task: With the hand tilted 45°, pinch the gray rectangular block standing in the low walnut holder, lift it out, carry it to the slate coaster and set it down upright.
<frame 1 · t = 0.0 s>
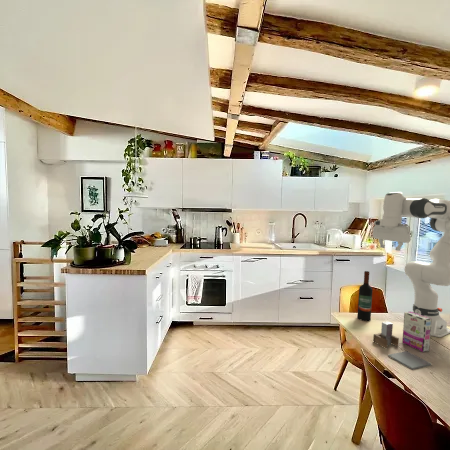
hand: (389, 249, 158), 48 cm above the table, tool pointing down, fingers open, 8 cm apart
holder: (385, 343, 154), on the table
wine bottle: (363, 319, 188), on the table
gray rectangular block: (386, 333, 154), in the holder
candy bar box: (415, 347, 152), on the table
coaster: (409, 360, 138), on the table
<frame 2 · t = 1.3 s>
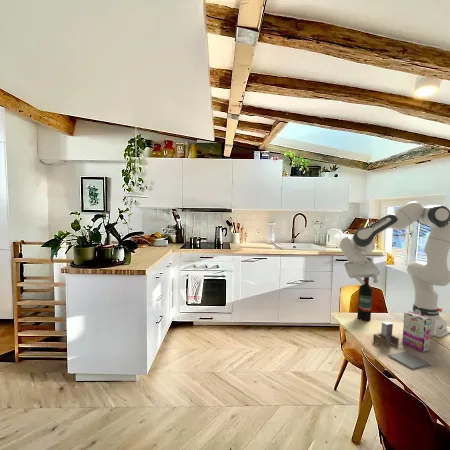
hand: (370, 283, 164), 28 cm above the table, tool tilted 45°, fingers open, 8 cm apart
nothing on the table moved.
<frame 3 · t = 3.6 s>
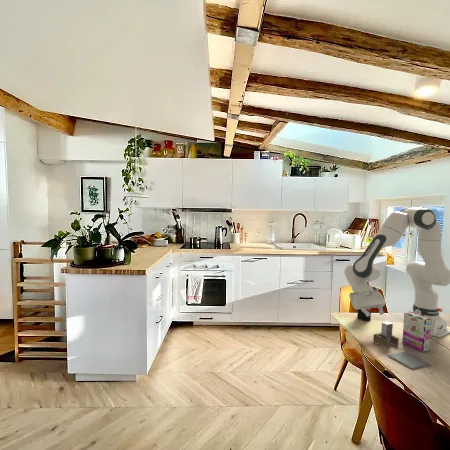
hand: (375, 315, 160), 12 cm above the table, tool tilted 45°, fingers open, 8 cm apart
nothing on the table moved.
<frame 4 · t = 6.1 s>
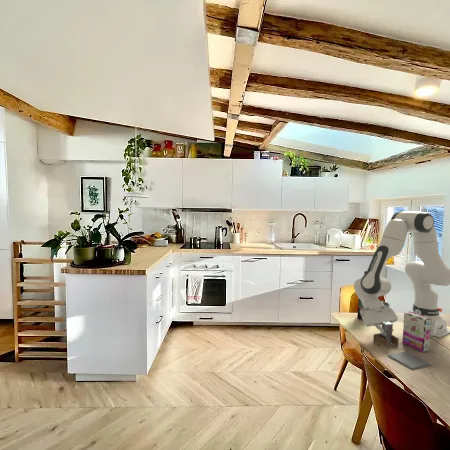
hand: (387, 332, 153), 6 cm above the table, tool tilted 45°, fingers closed on gray rectangular block, 4 cm apart
gray rectangular block: (386, 333, 154), in the holder, touching gripper
everything else where it was.
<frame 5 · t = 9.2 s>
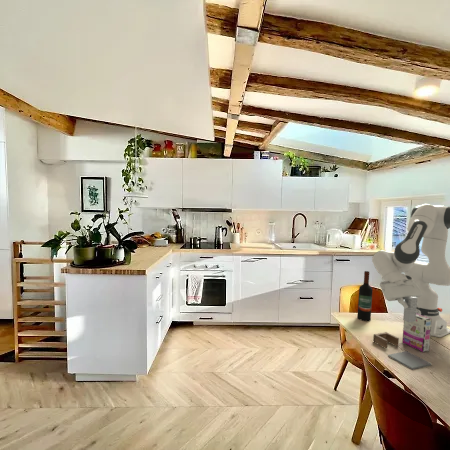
hand: (411, 307, 137), 25 cm above the table, tool tilted 45°, fingers closed on gray rectangular block, 4 cm apart
gray rectangular block: (410, 308, 137), point 24 cm above the table, touching gripper
everything else where it was.
when the fingers open (9 cm above the table, at t = 12.7 s): gray rectangular block drops 1 cm, resting on coaster.
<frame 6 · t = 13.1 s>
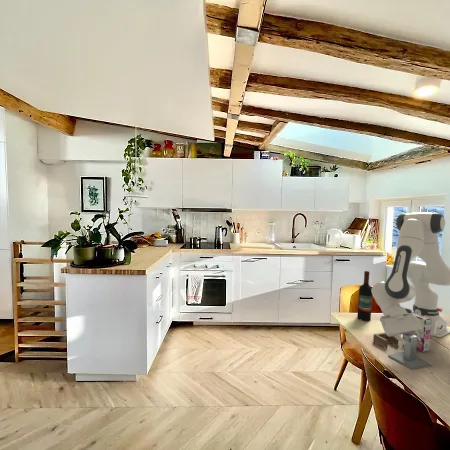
hand: (412, 343, 137), 9 cm above the table, tool tilted 45°, fingers open, 8 cm apart
gray rectangular block: (410, 347, 137), on the coaster, point 6 cm above the table
everything else where it was.
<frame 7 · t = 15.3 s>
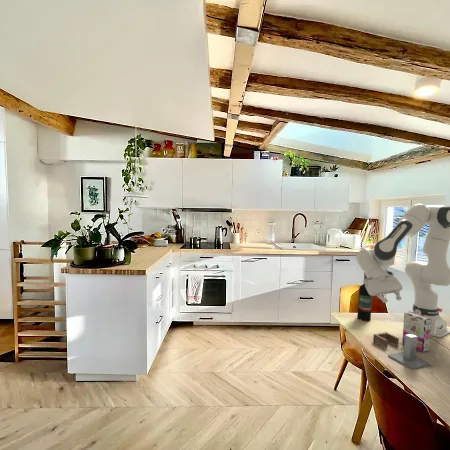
hand: (392, 300, 148), 24 cm above the table, tool tilted 45°, fingers open, 8 cm apart
nothing on the table moved.
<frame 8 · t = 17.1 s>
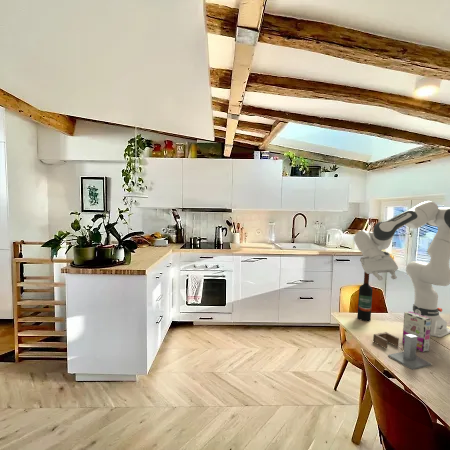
hand: (388, 279, 153), 33 cm above the table, tool tilted 45°, fingers open, 8 cm apart
nothing on the table moved.
at the end: gray rectangular block inside the target area (0.1 cm from its centre), point 6.3 cm above the table; gray rectangular block tilted 0°; the gripper is holding nothing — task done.
